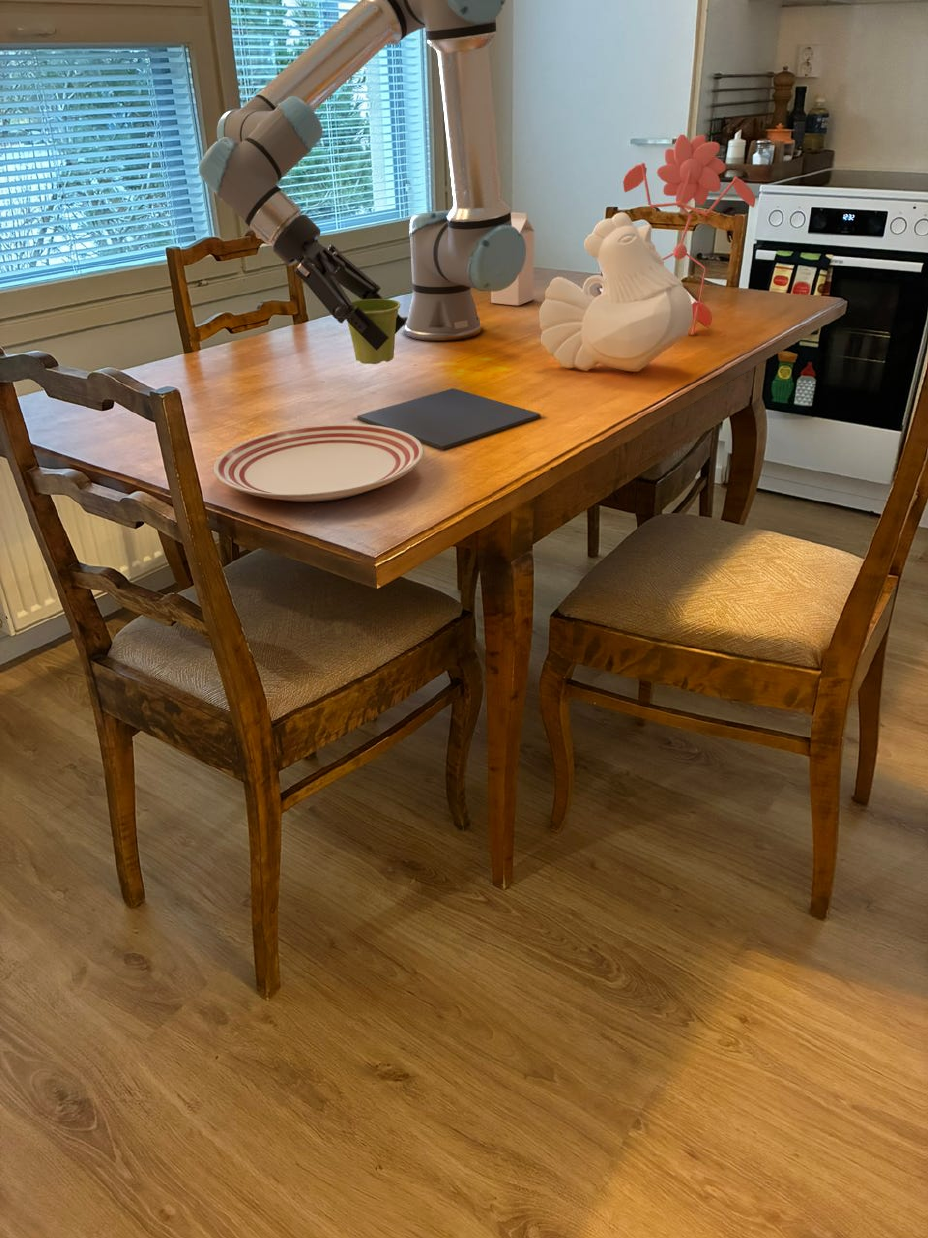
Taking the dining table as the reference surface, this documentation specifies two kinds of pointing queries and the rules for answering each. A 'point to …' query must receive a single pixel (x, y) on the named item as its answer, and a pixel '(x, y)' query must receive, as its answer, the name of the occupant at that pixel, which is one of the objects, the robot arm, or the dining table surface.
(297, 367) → the dining table surface
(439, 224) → the robot arm
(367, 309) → the plant pot
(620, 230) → the decorative rooster
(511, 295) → the milk carton
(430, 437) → the placemat
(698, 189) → the figurine
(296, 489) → the dinner plate
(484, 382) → the dining table surface
